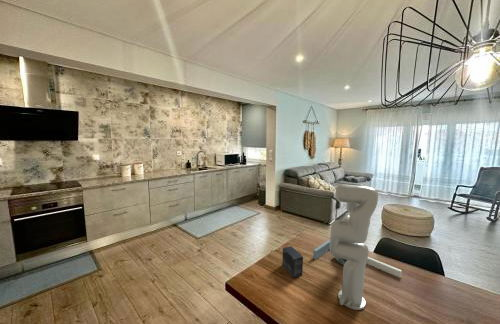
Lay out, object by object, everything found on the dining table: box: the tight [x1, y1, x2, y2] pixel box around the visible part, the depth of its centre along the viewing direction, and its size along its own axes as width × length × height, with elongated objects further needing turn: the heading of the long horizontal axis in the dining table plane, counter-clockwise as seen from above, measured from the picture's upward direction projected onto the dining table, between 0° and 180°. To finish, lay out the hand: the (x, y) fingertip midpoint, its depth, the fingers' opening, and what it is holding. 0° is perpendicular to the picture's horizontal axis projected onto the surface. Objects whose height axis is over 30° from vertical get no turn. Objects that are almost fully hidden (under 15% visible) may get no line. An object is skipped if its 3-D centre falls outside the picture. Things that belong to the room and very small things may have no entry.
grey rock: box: [334, 257, 346, 266], centre depth 140 cm, size 14×10×10 cm
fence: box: [312, 238, 403, 278], centre depth 135 cm, size 23×45×6 cm, turn 42°
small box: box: [281, 245, 304, 278], centre depth 131 cm, size 13×7×12 cm, turn 22°
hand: (348, 257), depth 136 cm, fingers open, 9 cm apart
